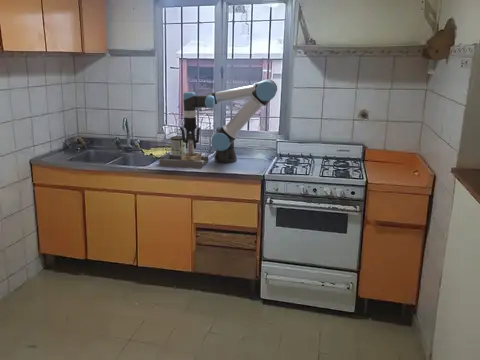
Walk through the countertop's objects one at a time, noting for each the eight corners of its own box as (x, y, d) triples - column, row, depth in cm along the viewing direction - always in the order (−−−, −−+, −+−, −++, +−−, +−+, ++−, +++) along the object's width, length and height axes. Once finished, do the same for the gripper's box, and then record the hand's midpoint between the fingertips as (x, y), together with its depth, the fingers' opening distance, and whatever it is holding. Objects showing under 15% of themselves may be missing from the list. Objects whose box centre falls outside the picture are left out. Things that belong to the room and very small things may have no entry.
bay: (208, 162, 298) (208, 154, 296) (201, 168, 283) (201, 159, 281) (168, 160, 303) (168, 152, 302) (159, 165, 288) (159, 157, 287)
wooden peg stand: (201, 160, 295) (200, 132, 290) (196, 163, 286) (195, 135, 280) (186, 159, 297) (185, 131, 292) (181, 163, 288) (180, 134, 282)
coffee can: (173, 155, 316) (172, 135, 313) (187, 155, 316) (186, 136, 312) (169, 158, 307) (168, 138, 303) (184, 159, 306) (183, 138, 302)
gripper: (176, 117, 281) (177, 154, 288) (200, 118, 278) (201, 155, 285) (180, 115, 289) (181, 151, 295) (203, 116, 285) (204, 152, 292)
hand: (191, 153), depth 290 cm, fingers closed on wooden peg stand, 3 cm apart
